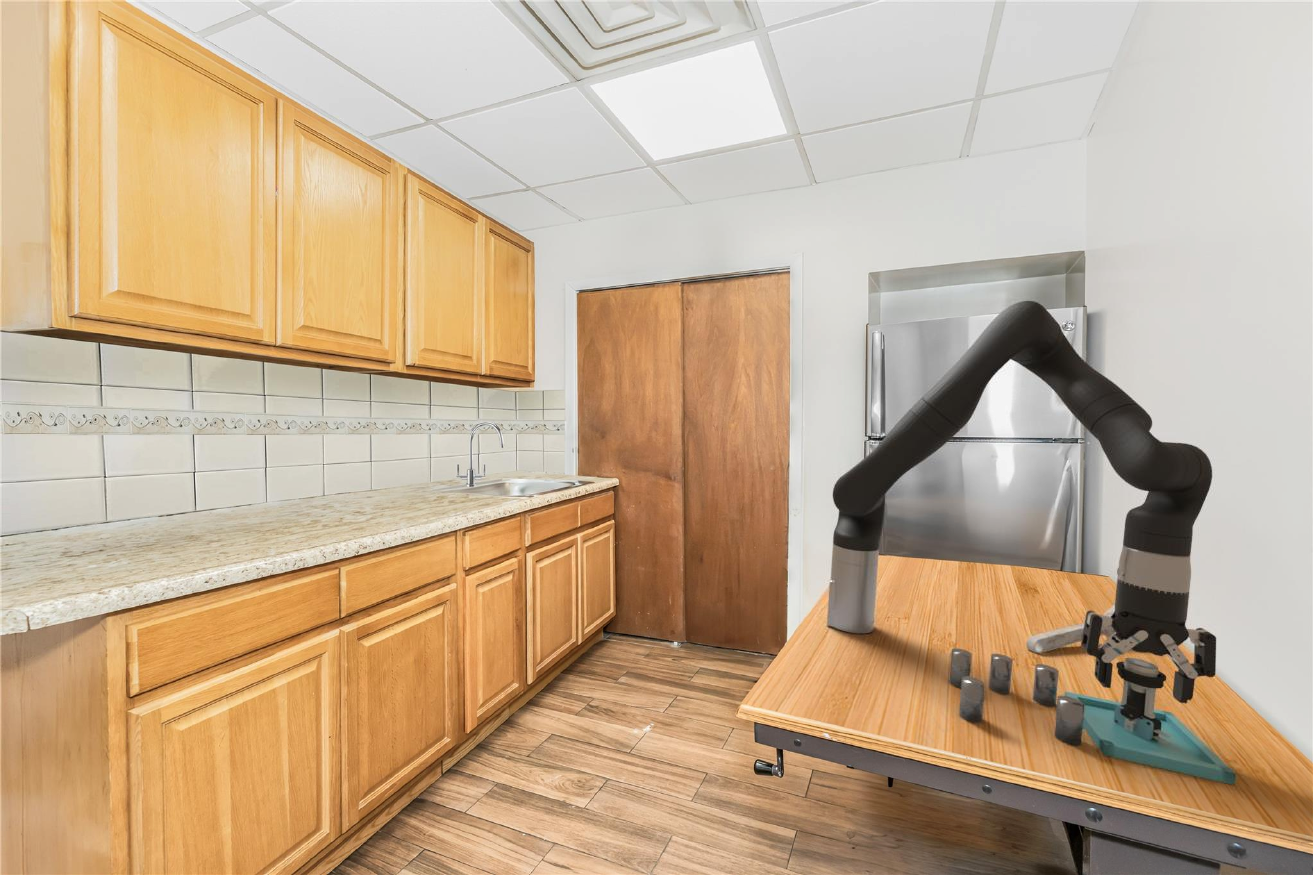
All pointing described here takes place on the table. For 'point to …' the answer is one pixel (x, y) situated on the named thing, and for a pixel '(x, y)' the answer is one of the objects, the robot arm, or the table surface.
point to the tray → (1152, 742)
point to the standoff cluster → (1000, 682)
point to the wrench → (1064, 636)
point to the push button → (1139, 698)
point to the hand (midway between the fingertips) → (1141, 692)
